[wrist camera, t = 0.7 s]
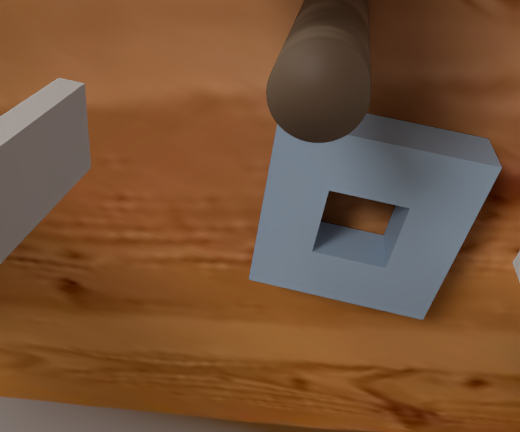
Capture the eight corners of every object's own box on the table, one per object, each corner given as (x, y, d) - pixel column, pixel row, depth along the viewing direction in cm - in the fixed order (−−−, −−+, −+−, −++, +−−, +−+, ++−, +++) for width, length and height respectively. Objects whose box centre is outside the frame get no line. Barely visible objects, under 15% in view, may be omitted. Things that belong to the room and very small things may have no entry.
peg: (297, 37, 31) (259, 131, 20) (310, -31, 29) (275, 32, 18) (358, 50, 31) (355, 152, 20) (376, -18, 29) (384, 54, 17)
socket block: (257, 248, 42) (248, 279, 39) (286, 96, 33) (278, 119, 30) (418, 284, 41) (423, 319, 38) (488, 138, 33) (502, 167, 30)
